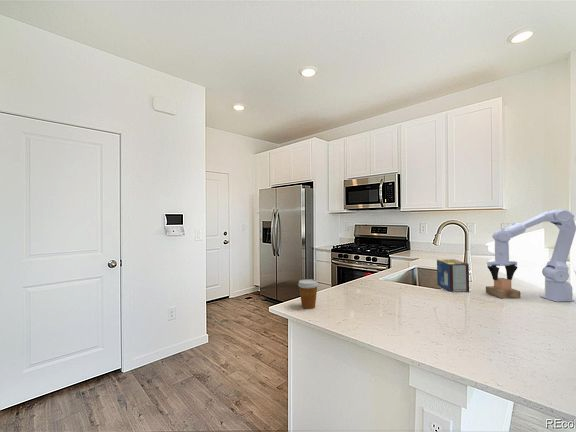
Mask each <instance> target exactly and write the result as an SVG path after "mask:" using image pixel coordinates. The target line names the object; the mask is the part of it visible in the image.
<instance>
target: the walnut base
mask: <svg viewBox="0 0 576 432" xmlns="http://www.w3.org/2000/svg"><path fill="white" fill-rule="evenodd" d="M485 294H487V295H490V296H492V297H495V298H497V299H499V300H501V299H502V300H503V299H504V300H506V299H508V300H509V299H511V300H512V299H521V291H520V290H517V289H514V288H512V287H511V290H500V289H497V288H494V285H487V286H485Z"/></svg>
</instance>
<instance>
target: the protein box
mask: <svg viewBox="0 0 576 432" xmlns="http://www.w3.org/2000/svg"><path fill="white" fill-rule="evenodd" d="M469 265H470V264H469V263H468V262H464V261H460V260H457V259H436V275H437V276H436V277H437V279H436V281H437V286H439V287H440V288H442V289H444V290H445V291H447V292H450V293H470V266H469Z"/></svg>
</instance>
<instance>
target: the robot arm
mask: <svg viewBox="0 0 576 432" xmlns="http://www.w3.org/2000/svg"><path fill="white" fill-rule="evenodd" d="M574 218H575V215H574V214H573V213H572V212H571V211H570V210H568V209H565V208H564V209H549V210H547V211H544V212H543V211H542V212H541V213H539V214H537V215H536V216H534V217H531V218H529V219H527V220H525V221H523V222H521V223H520V222H512V223H511V225H509V226H506V227H502V228H501V230H500V229H499V230H496V231H494V232H493V234H492V239H493V240H494V261H486V266H487V269H488V271H489V272H490V274H491V277H492V280H493V281H494V280H498V278H499V271H500V267H504V268H505V272H506V279H509V280H511V281H512V280H513V277H514V274H515V273H516V271H517V269H518V261H514V260H511V261H510V248H509V247H510V245H509V243H510V242H509V241H511V239H513V238H514V237H517V236H519V235H522V234H524V233H525V232H526V230H527V229H529V228H531V227H534V226H538V225H539V224H541V223H545V222H549V223H551V224H554V225H555V226H556V228H557V229H558V230H559V231H558V234H557V237H556V241H555V244H554V248H553V251H552V254H551V257H550V260H549V261H547V262H546V265H545V266H544V267H543V268H542V270H541V273H542V275H543V276H544V277H545V278H544V279H545V280H544V285H545V286H544V290H545V291H544V292H545V294H544V295H540V296H539V297H540V298H544V299H547V300H549V301H553V302H575V301H576V299H573V286H572V284H571V283H570V282H569V281H568V280H569V278H570V274H569V267H568V265H567V261H568V258H569V255H570V252H571V248H572V244H573V241H574V238H575V235H576V222H575V219H574Z"/></svg>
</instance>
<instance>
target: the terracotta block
mask: <svg viewBox="0 0 576 432" xmlns="http://www.w3.org/2000/svg"><path fill="white" fill-rule="evenodd" d="M493 286H494V288H497V289H500V290H511V288H512V280H509V279H507V278H505V277H498V280H493Z"/></svg>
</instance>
